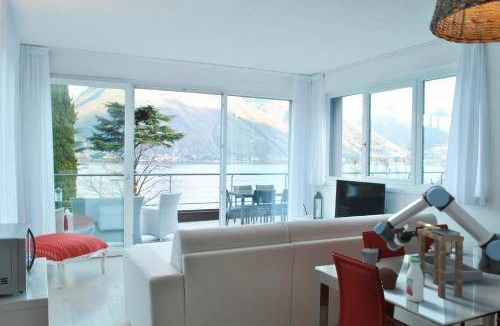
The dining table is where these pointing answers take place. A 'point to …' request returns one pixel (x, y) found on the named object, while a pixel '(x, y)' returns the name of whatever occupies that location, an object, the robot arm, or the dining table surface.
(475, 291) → the dining table surface
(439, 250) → the stool
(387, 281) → the muffin
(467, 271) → the tray
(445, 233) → the hand shovel
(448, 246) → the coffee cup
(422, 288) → the milk bottle
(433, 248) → the passion flower
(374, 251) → the coffeepot
